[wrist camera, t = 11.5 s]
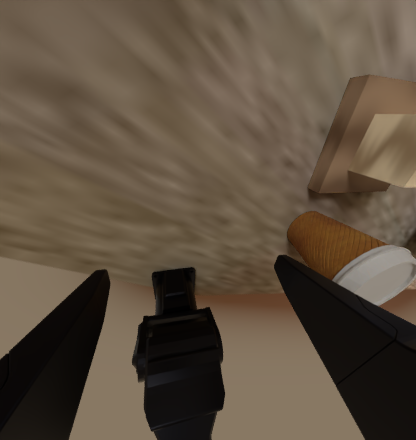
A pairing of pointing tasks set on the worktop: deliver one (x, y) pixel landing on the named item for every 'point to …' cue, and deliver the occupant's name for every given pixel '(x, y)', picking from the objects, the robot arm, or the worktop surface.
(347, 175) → the walnut board
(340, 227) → the disposable coffee cup
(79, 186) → the worktop surface
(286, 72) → the worktop surface
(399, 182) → the maple cube
